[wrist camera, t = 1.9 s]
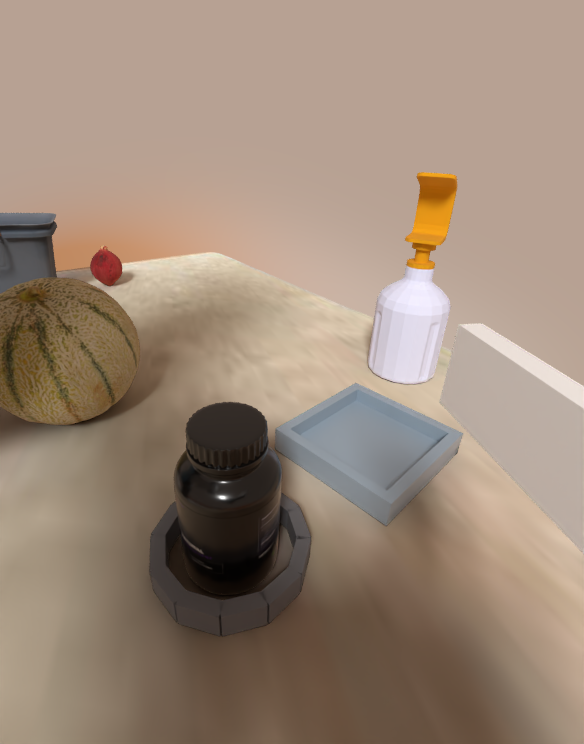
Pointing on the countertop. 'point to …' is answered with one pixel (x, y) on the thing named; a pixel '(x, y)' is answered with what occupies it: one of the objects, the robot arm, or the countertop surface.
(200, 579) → the supplement bottle
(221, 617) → the holster ring
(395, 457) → the tray
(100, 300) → the cantaloupe
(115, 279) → the pomegranate
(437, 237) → the soap bottle
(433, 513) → the countertop surface
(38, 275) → the storage bin
